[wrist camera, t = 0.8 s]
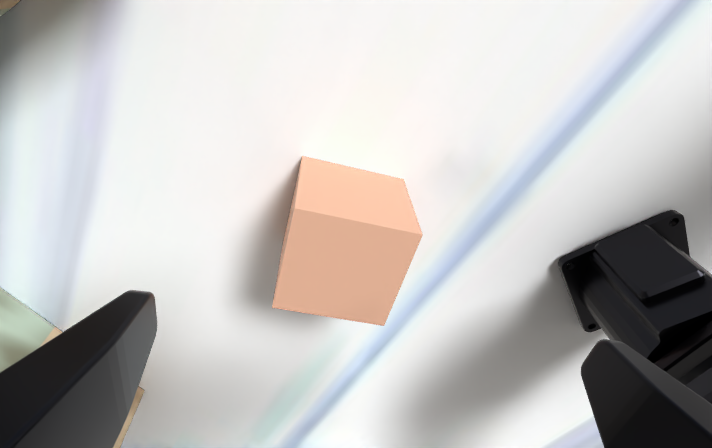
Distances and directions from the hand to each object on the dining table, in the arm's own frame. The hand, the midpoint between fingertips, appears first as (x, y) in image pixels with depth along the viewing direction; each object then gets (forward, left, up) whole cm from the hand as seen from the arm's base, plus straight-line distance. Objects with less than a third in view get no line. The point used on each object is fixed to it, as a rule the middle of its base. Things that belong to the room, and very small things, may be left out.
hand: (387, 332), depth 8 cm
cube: (-3, +3, -12) cm, 13 cm away
